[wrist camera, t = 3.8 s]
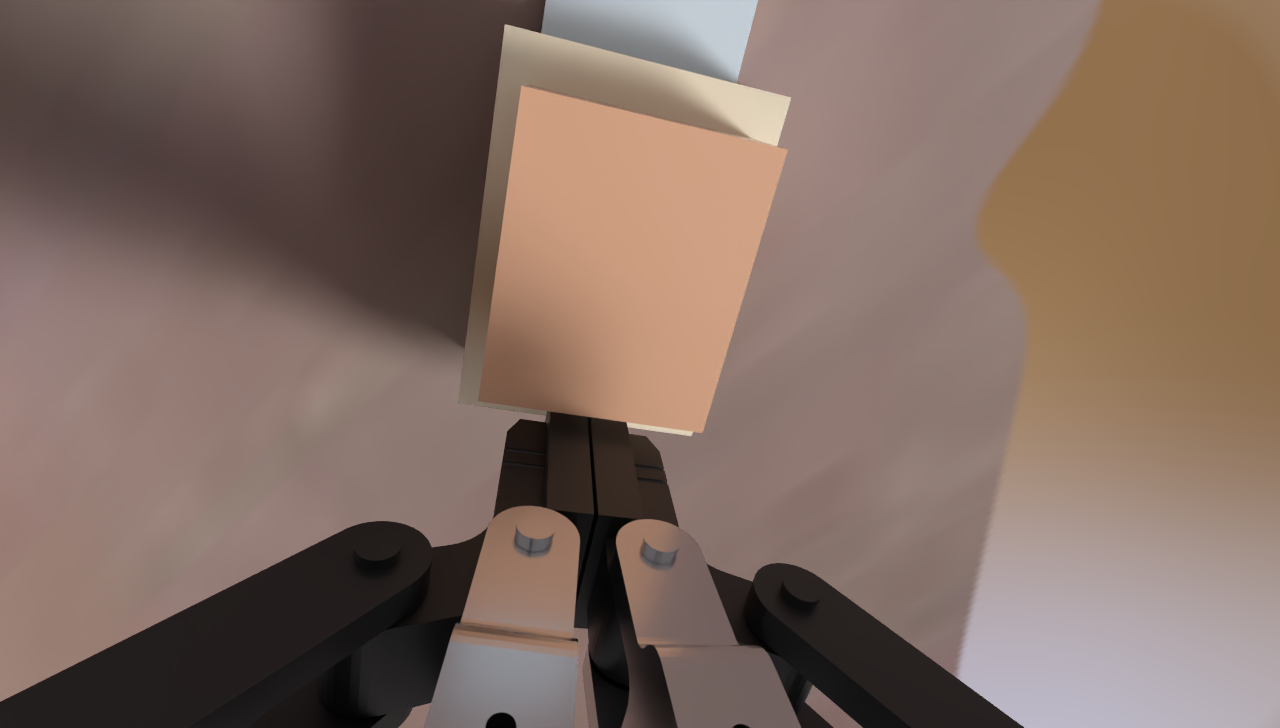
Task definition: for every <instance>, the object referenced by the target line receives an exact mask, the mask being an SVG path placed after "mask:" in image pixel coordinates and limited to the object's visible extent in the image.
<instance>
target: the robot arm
mask: <svg viewBox="0 0 1280 728" xmlns="http://www.w3.org/2000/svg"><path fill="white" fill-rule="evenodd" d="M663 469H664V467H663V463H662V459H661V455H660V452H659V451H658V449H657V448H656V447H655V446H654V445H653V444H652V443H651V441H650V440H649V439H648V438H647V437H646V436H640V435H633V434H629V432H628V427H627V422H621V421H614V420H607V419H600V418H593V417H586V416H579V415H572V414H565V413H558V412H551V411H547V414H546V419H545V422H538V421H531V420H524V419H520V420H519V421H518V422H517V423H516V424H515V425H513V426H512V427H511V428H510V429H509V430H508V431H507V436H506V442H505V449H504V455H503V461H502V467H501V473H500V479H499V485H498V492H497V498H496V504H495V510H494V517H493V519H492V521H491V522H490V524H489V526H488V527H487V528H486V529H485V530H484V531H483V532H482V533H481V534H479V535H477V536H476V537H474V538H472V539H470V540H467V541H464V542H461V543H458V544H453V545H447V546H440V547H431V545H430V543H429V541H428V539H427V538H426V537H425V536H424V535H423V534H422V533H421V532H419V531H418V530H416V529H414V528H413V527H410V526H408V525H405V524H401V523H397V522H389V521H376V522H367V523H362V524H358V525H355V526H352V527H350V528H347V529H345V530H343V531H341V532H339V533H337V534H335V535H333V536H331V537H329V538H327V539H325V540H323V541H321V542H319V543H317V544H315V545H313V546H311V547H309V548H307V549H305V550H303V551H301V552H299V553H297V554H295V555H293V556H291V557H289V558H287V559H285V560H283V561H281V562H279V563H277V564H275V565H273V566H271V567H269V568H267V569H265V570H263V571H261V572H259V573H257V574H255V575H253V576H251V577H249V578H247V579H245V580H243V581H241V582H239V583H237V584H235V585H233V586H231V587H229V588H227V589H225V590H223V591H221V592H219V593H217V594H215V595H213V596H211V597H209V598H207V599H205V600H203V601H201V602H199V603H197V604H195V605H193V606H191V607H189V608H187V609H185V610H183V611H181V612H179V613H177V614H175V615H173V616H171V617H169V618H167V619H165V620H163V621H161V622H159V623H157V624H155V625H153V626H151V627H149V628H147V629H145V630H143V631H141V632H139V633H137V634H135V635H133V636H131V637H129V638H127V639H125V640H123V641H121V642H119V643H117V644H115V645H113V646H111V647H109V648H107V649H105V650H103V651H101V652H99V653H97V654H95V655H93V656H91V657H89V658H87V659H85V660H83V661H81V662H79V663H77V664H75V665H73V666H71V667H69V668H67V669H65V670H63V671H61V672H59V673H57V674H55V675H53V676H51V677H49V678H47V679H45V680H43V681H41V682H39V683H37V684H35V685H33V686H31V687H29V688H27V689H25V690H23V691H21V692H19V693H17V694H15V695H13V696H11V697H9V698H7V699H5V700H3V701H1V702H0V728H398V727H399V726H400V725H401V724H402V723H403V722H404V721H405V720H406V718H407V717H408V716H409V714H410V712H411V710H412V708H413V707H416V706H420V705H424V704H428V703H431V705H430V709H429V712H428V716H427V719H426V722H425V726H424V728H574V715H575V699H576V683H577V667H578V639H574V638H573V630H574V628H586V629H588V638H589V643H588V647H587V651H586V655H585V659H584V663H583V681H584V690H585V698H586V707H587V715H588V723H589V728H833V727H832V726H831V725H830V724H829V723H828V722H827V721H825V720H824V719H823V718H822V717H821V716H820V715H819V714H817V713H816V712H815V711H814V710H813V709H812V708H811V707H810V706H808V705H807V704H806V703H805V700H806V698H807V696H808V694H809V692H810V690H811V688H812V685H814V686H815V687H816V688H818V689H819V690H820V691H821V692H822V693H823V694H825V695H826V696H827V697H828V698H829V699H830V700H832V701H833V702H834V703H835V704H836V705H837V706H839V707H840V708H841V709H842V710H843V711H844V712H846V713H847V714H848V715H849V716H850V717H851V718H853V719H854V720H855V721H856V722H857V723H858V724H860V725H861V726H862V727H863V728H1024V727H1023V726H1021V725H1020V724H1018V723H1017V722H1016V721H1014V720H1013V719H1012V718H1010V717H1009V716H1008V715H1006V714H1005V713H1003V712H1002V711H1001V710H999V709H998V708H997V707H995V706H994V705H993V704H991V703H990V702H989V701H987V700H986V699H984V698H983V697H982V696H980V695H979V694H978V693H976V692H975V691H974V690H972V689H971V688H969V687H968V686H967V685H965V684H964V683H963V682H961V681H960V680H959V679H957V678H956V677H955V676H953V675H952V674H950V673H949V672H948V671H946V670H945V669H944V668H942V667H941V666H940V665H938V664H937V663H935V662H934V661H933V660H931V659H930V658H929V657H927V656H926V655H925V654H923V653H922V652H920V651H919V650H918V649H916V648H915V647H914V646H912V645H911V644H910V643H908V642H907V641H905V640H904V639H903V638H901V637H900V636H899V635H897V634H896V633H895V632H893V631H892V630H890V629H889V628H888V627H886V626H885V625H884V624H882V623H881V622H880V621H878V620H877V619H875V618H874V617H873V616H871V615H870V614H869V613H867V612H866V611H865V610H863V609H862V608H860V607H859V606H858V605H856V604H855V603H854V602H852V601H851V600H850V599H848V598H847V597H845V596H844V595H843V594H841V593H840V592H839V591H837V590H836V589H835V588H833V587H832V586H830V585H829V584H828V583H826V582H825V581H824V580H822V579H821V578H819V577H818V576H816V575H815V574H813V573H811V572H809V571H808V570H805V569H803V568H800V567H797V566H794V565H790V564H783V563H775V564H769V565H766V566H764V567H762V568H761V569H759V570H758V572H757V573H756V575H755V577H754V580H753V582H752V581H749V580H746V579H743V578H740V577H737V576H734V575H731V574H728V573H725V572H723V571H720V570H718V569H716V568H714V567H712V566H710V565H708V564H706V561H705V559H704V556H703V554H702V551H701V549H700V547H699V545H698V544H697V542H696V541H695V540H694V539H693V538H692V537H691V536H690V535H689V534H688V533H687V532H685V531H684V530H682V529H681V528H679V525H678V522H677V518H676V514H675V510H674V506H673V502H672V498H671V494H670V490H669V487H668V484H667V479H666V475H665V471H663Z"/></svg>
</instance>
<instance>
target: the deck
mask: <svg viewBox="0 0 1280 728" xmlns="http://www.w3.org/2000/svg"><path fill="white" fill-rule="evenodd" d="M522 85H532V86H536V87H540V88H545V89H549V90H553V91H557V92H561V93H565V94H569V95H574V96H578V97H582V98H586V99H590V100H594V101H599V102H603V103H607V104H611V105H615V106H619V107H623V108H628V109H632V110H636V111H640V112H644V113H648V114H653V115H657V116H661V117H665V118H669V119H673V120H677V121H682V122H686V123H690V124H694V125H698V126H702V127H707V128H711V129H715V130H719V131H723V132H727V133H731V134H736V135H740V136H744V137H748V138H752V139H755V140H759V141H762V142H765V143H768V144H771V145H775V146H777V144H778V141H779V137H780V134H781V130H782V127H783V124H784V120H785V117H786V113H787V110H788V107H789V103H790V100H791V98H790V97H786V96H782V95H778V94H775V93H771V92H767V91H763V90H759V89H755V88H751V87H747V86H743V85H740V84H736V83H732V82H728V81H724V80H720V79H716V78H712V77H708V76H705V75H701V74H697V73H693V72H689V71H685V70H681V69H677V68H674V67H670V66H666V65H662V64H658V63H654V62H650V61H646V60H642V59H639V58H635V57H631V56H627V55H623V54H619V53H615V52H611V51H607V50H604V49H600V48H596V47H592V46H588V45H584V44H580V43H576V42H573V41H569V40H565V39H561V38H557V37H553V36H549V35H545V34H541V33H538V32H534V31H530V30H526V29H522V28H518V27H514V26H510V25H506V24H505V27H504V35H503V44H502V52H501V60H500V68H499V76H498V84H497V92H496V100H495V108H494V116H493V125H492V133H491V141H490V149H489V157H488V165H487V173H486V181H485V189H484V197H483V206H482V214H481V222H480V230H479V238H478V246H477V254H476V262H475V270H474V278H473V287H472V295H471V303H470V311H469V319H468V327H467V335H466V343H465V351H464V359H463V368H462V376H461V384H460V392H459V400H458V403H459V404H466V405H474V406H481V407H488V408H495V409H502V410H509V411H516V412H524V413H531V414H538V415H545V416H546V414H547V411H544V410H537V409H530V408H523V407H516V406H509V405H501V404H494V403H487V402H480V401H478V398H479V390H480V383H481V376H482V368H483V361H484V354H485V347H486V339H487V332H488V325H489V317H490V310H491V303H492V296H493V288H494V281H495V274H496V266H497V259H498V252H499V245H500V237H501V230H502V223H503V215H504V208H505V201H506V194H507V186H508V179H509V172H510V164H511V157H512V150H513V143H514V135H515V128H516V121H517V113H518V106H519V99H520V92H521V86H522ZM627 427H631V428H638V429H645V430H652V431H659V432H666V433H673V434H680V435H688V436H692V433H693V432H692V431H685V430H678V429H671V428H664V427H657V426H650V425H643V424H636V423H629V422H627Z"/></svg>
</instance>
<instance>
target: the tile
mask: <svg viewBox="0 0 1280 728" xmlns="http://www.w3.org/2000/svg"><path fill="white" fill-rule="evenodd" d="M787 151H788V149H784V148H781V147H778V146H775V145H771V144H768V143H765V142H762V141H759V140H755V139H752V138H748V137H744V136H740V135H736V134H731V133H727V132H723V131H719V130H715V129H711V128H707V127H702V126H698V125H694V124H690V123H686V122H682V121H677V120H673V119H669V118H665V117H661V116H657V115H653V114H648V113H644V112H640V111H636V110H632V109H628V108H623V107H619V106H615V105H611V104H607V103H603V102H599V101H594V100H590V99H586V98H582V97H578V96H574V95H569V94H565V93H561V92H557V91H553V90H549V89H545V88H540V87H536V86H532V85H522V86H521V92H520V99H519V106H518V113H517V121H516V128H515V135H514V143H513V150H512V157H511V164H510V172H509V179H508V186H507V194H506V201H505V208H504V215H503V223H502V230H501V237H500V245H499V252H498V259H497V266H496V274H495V281H494V288H493V296H492V303H491V310H490V317H489V325H488V332H487V339H486V347H485V354H484V361H483V368H482V376H481V383H480V390H479V398H478V401H480V402H487V403H494V404H501V405H509V406H516V407H523V408H530V409H537V410H544V411H551V412H558V413H565V414H572V415H579V416H586V417H593V418H600V419H607V420H614V421H621V422H629V423H636V424H643V425H650V426H657V427H664V428H671V429H678V430H685V431H692V432H699V433H703V429H704V426H705V423H706V419H707V416H708V413H709V409H710V406H711V403H712V399H713V396H714V393H715V390H716V386H717V383H718V380H719V376H720V373H721V370H722V366H723V363H724V360H725V356H726V353H727V350H728V346H729V343H730V340H731V337H732V333H733V330H734V327H735V323H736V320H737V317H738V313H739V310H740V307H741V303H742V300H743V297H744V293H745V290H746V287H747V284H748V280H749V277H750V274H751V270H752V267H753V264H754V260H755V257H756V254H757V250H758V247H759V244H760V240H761V237H762V234H763V231H764V227H765V224H766V221H767V217H768V214H769V211H770V207H771V204H772V201H773V197H774V194H775V191H776V187H777V184H778V181H779V177H780V174H781V171H782V168H783V164H784V161H785V158H786V154H787Z"/></svg>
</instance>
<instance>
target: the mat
mask: <svg viewBox="0 0 1280 728" xmlns="http://www.w3.org/2000/svg"><path fill="white" fill-rule="evenodd" d="M757 2H758V0H546V3H545V10H544V17H543V24H542V31H541V34H545V35H549V36H553V37H557V38H561V39H565V40H569V41H573V42H576V43H580V44H584V45H588V46H592V47H596V48H600V49H604V50H607V51H611V52H615V53H619V54H623V55H627V56H631V57H635V58H639V59H642V60H646V61H650V62H654V63H658V64H662V65H666V66H670V67H674V68H677V69H681V70H685V71H689V72H693V73H697V74H701V75H705V76H708V77H712V78H716V79H720V80H724V81H728V82H732V83H737V79H738V75H739V71H740V68H741V64H742V60H743V56H744V52H745V48H746V44H747V41H748V37H749V33H750V29H751V25H752V21H753V18H754V14H755V10H756V6H757Z"/></svg>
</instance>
